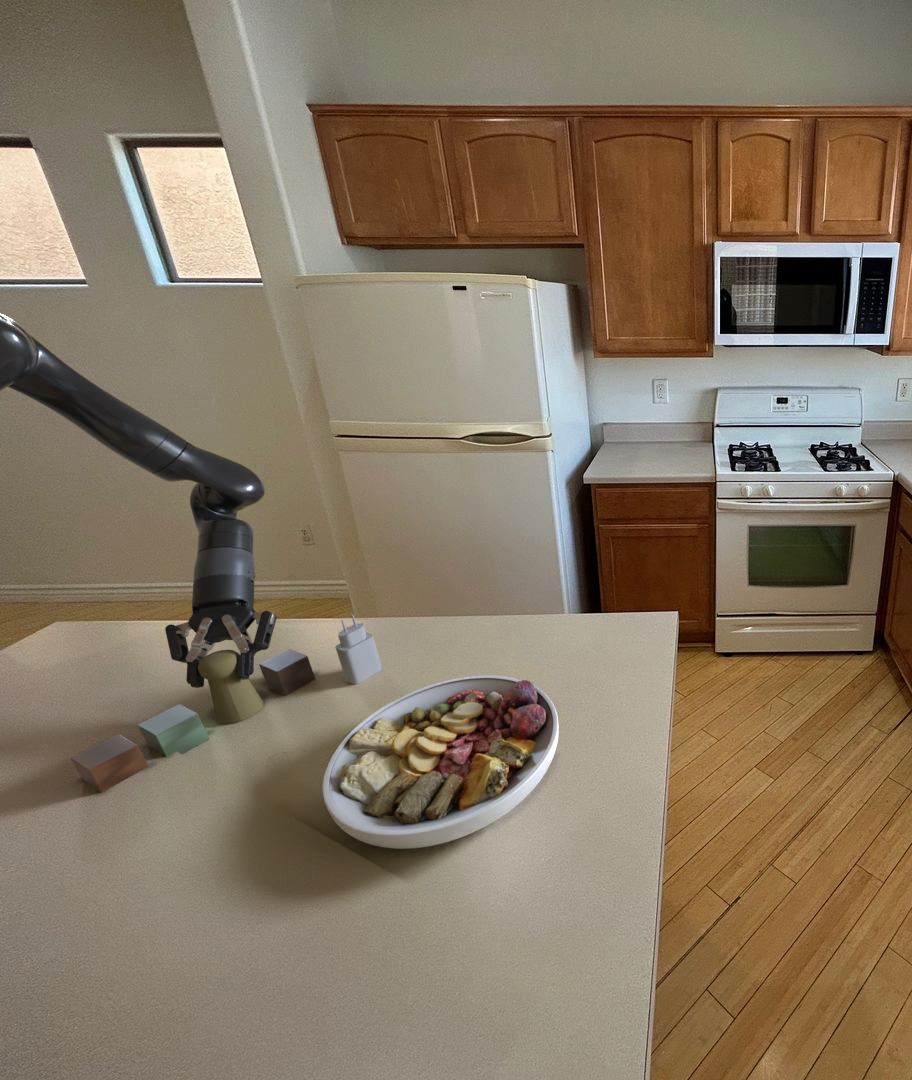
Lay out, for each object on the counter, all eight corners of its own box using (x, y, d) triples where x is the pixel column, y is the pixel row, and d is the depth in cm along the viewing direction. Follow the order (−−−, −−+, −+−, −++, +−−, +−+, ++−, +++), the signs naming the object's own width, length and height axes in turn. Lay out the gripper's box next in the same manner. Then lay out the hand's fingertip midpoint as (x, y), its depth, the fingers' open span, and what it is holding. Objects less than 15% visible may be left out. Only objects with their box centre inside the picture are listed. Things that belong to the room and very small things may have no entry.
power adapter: (384, 668, 101) (368, 612, 96) (355, 685, 97) (337, 627, 92) (372, 663, 102) (356, 608, 97) (344, 680, 98) (325, 623, 93)
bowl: (397, 915, 61) (380, 867, 58) (296, 781, 78) (279, 738, 74) (602, 754, 83) (599, 713, 80) (490, 676, 100) (483, 639, 96)
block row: (104, 798, 75) (88, 770, 73) (86, 785, 76) (70, 758, 74) (315, 679, 98) (307, 655, 96) (297, 671, 100) (289, 648, 98)
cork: (224, 703, 92) (200, 648, 87) (268, 694, 94) (247, 641, 89) (210, 728, 87) (183, 671, 82) (257, 718, 89) (233, 662, 84)
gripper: (154, 580, 85) (145, 690, 80) (266, 566, 90) (265, 669, 85) (183, 594, 92) (177, 696, 87) (286, 580, 97) (286, 676, 92)
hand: (220, 682), depth 86 cm, fingers closed on cork, 5 cm apart
